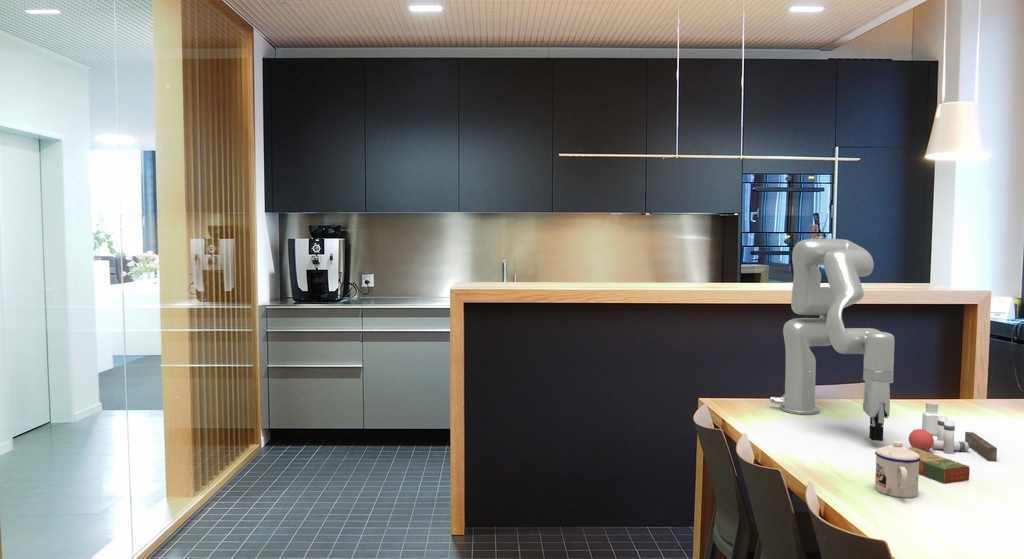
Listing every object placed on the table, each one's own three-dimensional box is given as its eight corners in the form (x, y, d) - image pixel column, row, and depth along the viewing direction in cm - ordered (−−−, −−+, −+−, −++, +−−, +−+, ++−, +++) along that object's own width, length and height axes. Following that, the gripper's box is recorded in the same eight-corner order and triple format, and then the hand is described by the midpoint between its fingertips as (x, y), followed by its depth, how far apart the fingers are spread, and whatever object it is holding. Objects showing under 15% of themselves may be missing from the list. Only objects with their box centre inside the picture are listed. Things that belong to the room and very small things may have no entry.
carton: (914, 462, 183) (914, 446, 183) (970, 482, 168) (971, 465, 168) (888, 464, 181) (889, 448, 181) (943, 485, 165) (944, 468, 165)
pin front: (934, 442, 192) (969, 444, 190) (931, 438, 194) (965, 440, 192) (933, 450, 193) (968, 452, 191) (930, 446, 195) (964, 448, 193)
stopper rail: (987, 460, 183) (988, 447, 183) (964, 443, 199) (965, 431, 199) (996, 461, 183) (997, 448, 183) (972, 444, 198) (973, 432, 198)
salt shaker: (940, 436, 207) (942, 404, 206) (926, 435, 207) (927, 404, 207) (935, 432, 210) (936, 401, 210) (921, 431, 211) (922, 401, 211)
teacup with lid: (870, 483, 166) (872, 434, 165) (913, 487, 163) (915, 438, 163) (881, 500, 154) (882, 449, 154) (927, 505, 152) (929, 452, 151)
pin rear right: (944, 453, 190) (945, 422, 189) (941, 450, 192) (942, 420, 192) (955, 454, 189) (956, 423, 188) (952, 451, 191) (953, 421, 191)
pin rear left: (938, 448, 194) (939, 418, 194) (935, 445, 197) (936, 416, 196) (948, 448, 194) (949, 418, 193) (945, 446, 196) (946, 416, 196)
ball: (937, 453, 188) (913, 457, 192) (936, 440, 193) (912, 443, 196) (929, 436, 187) (905, 439, 190) (928, 422, 192) (905, 426, 195)
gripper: (857, 370, 204) (855, 432, 205) (870, 380, 190) (868, 446, 191) (885, 371, 202) (883, 433, 203) (900, 381, 188) (898, 448, 189)
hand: (876, 439), depth 197 cm, fingers closed
